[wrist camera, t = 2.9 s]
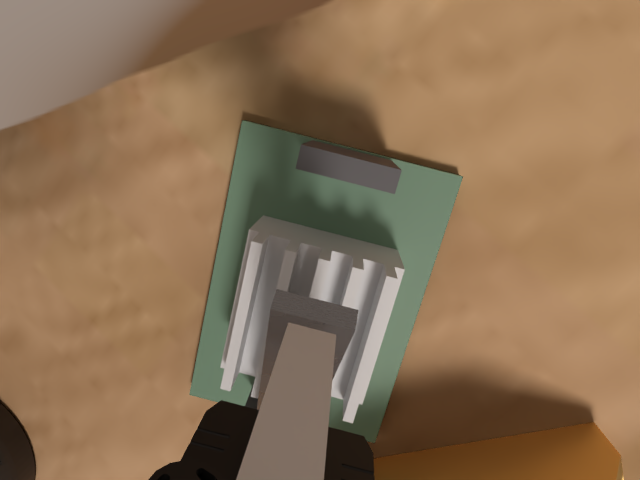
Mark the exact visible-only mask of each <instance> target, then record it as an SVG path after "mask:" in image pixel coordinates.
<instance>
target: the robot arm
mask: <svg viewBox="0 0 640 480" xmlns="http://www.w3.org/2000/svg"><path fill="white" fill-rule="evenodd" d="M335 344H336V335H335V334H332V333H328V332H324V331H320V330H316V329H312V328H308V327H305V326H301V325H297V324H293V323H289V322H288V325H287V328H286V331H285V334H284V337H283V340H282V343H281V346H280V349H279V352H278V355H277V358H276V361H275V364H274V367H273V370H272V373H271V376H270V379H269V382H268V385H267V388H266V391H265V394H264V397H263V400H262V403H261V406H260V409H259V410H257V409H253V408H249V407H246V406H242V405H238V404H234V403H230V402H227V401H223V400H221V401H220V402H218V403H217V404H215V405H214V406H213V407H211V408H210V409H209V410H207V411H206V413H205V414H204V416H203V418H202V420H201V422H200V424H199V426H198V429H197V430H196V432H195V434H194V436H193V438H192V440H191V442H190V444H189V445H188V447H187V449H186V451H185V453H184V455H183V457H182V459H181V461H179V462H173V463H170V464H168V465H166V466H164V467H162V468H160V469H159V470H157V471H156V472H155V473H154V474H153V475H152V476H151V477H150V479H149V480H375V476H374V459H373V452H372V450H371V449H370V447H369V445H368V443H367V441H366V439H365V437H364V436H362V435H358V434H354V433H351V432H347V431H343V430H339V429H335V428H332V427H328V425H329V413H330V402H331V390H332V378H333V367H334V355H335ZM0 480H35V463H34V457H33V453H32V450H31V447H30V444H29V442H28V439H27V437H26V435H25V433H24V432H23V430H22V428H21V427H20V425H19V424H18V422H17V421H16V420H15V418H14V417H13V416H12V415H11V414H10V413H9V412H8V410H7V409H6V408H5V407H4V406H2V405H1V404H0Z"/></svg>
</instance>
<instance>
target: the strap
mask: <svg viewBox="0 0 640 480" xmlns="http://www.w3.org/2000/svg"><path fill="white" fill-rule="evenodd" d="M358 311H359V310H357V309H353V308H349V307H345V306H341V305H337V304H334V303H330V302H326V301H322V300H318V299H314V298H310V297H307V296H303V295H299V294H295V293H291V292H287V291H283V290H279V289H277V290H276V293H275V296H274V299H273V302H272V305H271V308H270V315H269V322H268V330H267V337H266V344H265V352H264V359H263V367H262V374H261V382H260V389H259V396H258V404H257V410H259V409H260V406H261V403H262V400H263V397H264V394H265V391H266V388H267V385H268V382H269V379H270V376H271V373H272V370H273V367H274V364H275V361H276V358H277V355H278V352H279V349H280V346H281V343H282V340H283V337H284V334H285V331H286V328H287V325H288V322H289V323H293V324H297V325H301V326H305V327H308V328H312V329H316V330H320V331H324V332H328V333H332V334H335V335H336V344H335V355H334V367H333V378H334V376H335V374H336V371H337V369H338V367H339V365H340V363H341V361H342V358H343V356H344V354H345V352H346V350H347V348H348V345H349V343H350V341H351V339H352V337H353V335H354V332H355V329H356V323H357V317H358ZM333 378H332V380H333Z"/></svg>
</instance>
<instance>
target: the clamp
mask: <svg viewBox="0 0 640 480" xmlns="http://www.w3.org/2000/svg"><path fill="white" fill-rule="evenodd" d="M374 476H375V480H624V479H623V471H622V463H621V455H620V454H619V453H618V451H617V450H616V449H615V448H614V447H613V445H612V444H611V443H610V442H609V440H608V439H607V438H606V437H605V435H604V434H603V433H602V432H601V430H600V429H599V428H598V427H597V425H596V424H595V423H594V422H592V423H586V424H580V425H573V426H567V427H561V428H555V429H549V430H543V431H537V432H531V433H525V434H519V435H513V436H507V437H500V438H494V439H488V440H482V441H476V442H470V443H464V444H458V445H452V446H446V447H440V448H434V449H427V450H421V451H415V452H409V453H403V454H397V455H391V456H385V457H379V458H375V459H374Z"/></svg>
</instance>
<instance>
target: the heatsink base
mask: <svg viewBox="0 0 640 480" xmlns="http://www.w3.org/2000/svg"><path fill="white" fill-rule="evenodd" d="M462 178H463V177H462V176H460V175H457V174H453V173H450V172H446V171H442V170H438V169H434V168H430V167H426V166H422V165H418V164H414V163H410V162H406V161H403V160H399V159H395V158H391V157H387V156H383V155H379V154H375V153H371V152H367V151H363V150H360V149H356V148H352V147H348V146H344V145H340V144H336V143H332V142H328V141H324V140H320V139H316V138H313V137H309V136H305V135H301V134H297V133H293V132H289V131H285V130H281V129H277V128H273V127H270V126H266V125H262V124H258V123H254V122H250V121H246V120H242V124H241V129H240V134H239V139H238V145H237V150H236V155H235V160H234V165H233V171H232V176H231V181H230V186H229V191H228V197H227V202H226V207H225V212H224V217H223V223H222V228H221V233H220V238H219V244H218V249H217V254H216V259H215V264H214V270H213V275H212V280H211V285H210V290H209V296H208V301H207V306H206V311H205V317H204V322H203V327H202V332H201V337H200V343H199V348H198V353H197V358H196V363H195V369H194V374H193V379H192V384H191V390H190V395H192V396H196V397H200V398H204V399H208V400H211V401H215V402H220V401H221V400H223V401H227V402H230V403H234V404H238V405H242V406H246V407H249V408H253V409H257V404H258V396H259V389H260V382H261V374H262V367H263V359H264V352H265V344H266V337H267V330H268V322H269V315H270V308H271V305H272V302H273V299H274V296H275V293H276V290H277V289H279V290H283V291H287V292H291V293H295V294H299V295H303V296H307V297H310V298H314V299H318V300H322V301H326V302H330V303H334V304H337V305H341V306H345V307H349V308H353V309H357V310H359V311H358V317H357V323H356V329H355V332H354V335H353V337H352V339H351V341H350V343H349V345H348V348H347V350H346V352H345V354H344V356H343V358H342V361H341V363H340V365H339V367H338V369H337V371H336V374H335V376H334V378H333V380H332V390H331V402H330V413H329V425H328V427H332V428H335V429H339V430H343V431H347V432H351V433H354V434H358V435H362V436H364V437H365V439H366V441H368V442H372V443H375V441H376V438H377V435H378V432H379V429H380V426H381V423H382V420H383V417H384V414H385V411H386V408H387V405H388V402H389V399H390V396H391V392H392V389H393V386H394V383H395V380H396V377H397V374H398V371H399V368H400V365H401V362H402V359H403V356H404V353H405V350H406V347H407V344H408V341H409V338H410V335H411V332H412V329H413V326H414V323H415V320H416V317H417V314H418V311H419V308H420V305H421V302H422V299H423V296H424V293H425V290H426V287H427V284H428V281H429V278H430V275H431V272H432V269H433V266H434V263H435V260H436V257H437V254H438V251H439V248H440V245H441V242H442V239H443V236H444V233H445V230H446V227H447V224H448V221H449V218H450V215H451V212H452V209H453V206H454V203H455V200H456V197H457V194H458V190H459V187H460V184H461V181H462Z"/></svg>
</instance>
